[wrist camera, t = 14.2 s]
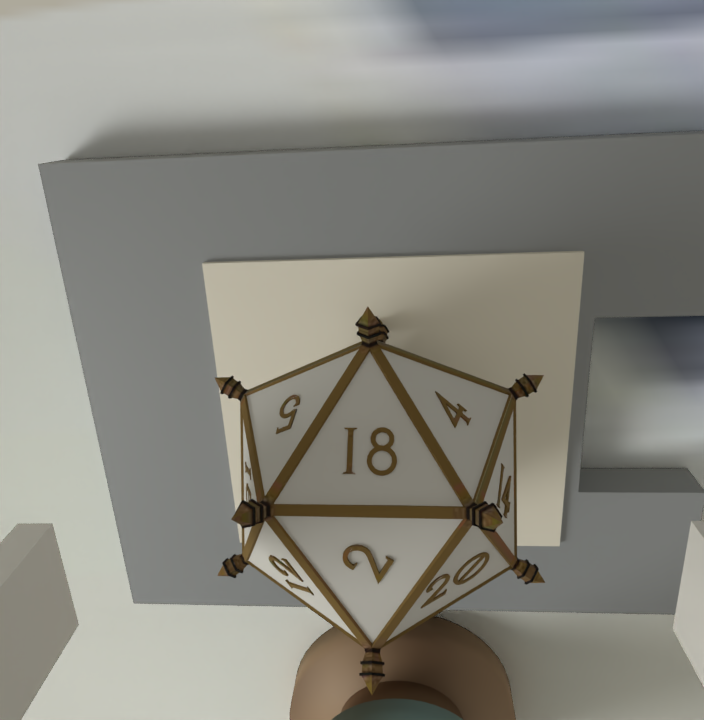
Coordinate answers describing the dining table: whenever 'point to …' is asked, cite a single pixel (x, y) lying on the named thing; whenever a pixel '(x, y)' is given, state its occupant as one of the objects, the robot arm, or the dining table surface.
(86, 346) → the notched board
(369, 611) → the game die
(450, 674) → the bobbin
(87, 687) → the dining table surface
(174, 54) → the dining table surface
